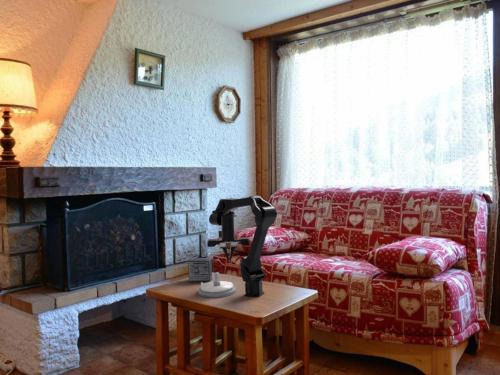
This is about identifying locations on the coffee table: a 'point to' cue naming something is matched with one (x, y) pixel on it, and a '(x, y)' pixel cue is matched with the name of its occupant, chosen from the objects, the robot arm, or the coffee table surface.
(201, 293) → the base plate
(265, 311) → the coffee table surface
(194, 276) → the small box
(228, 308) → the coffee table surface
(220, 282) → the dial
